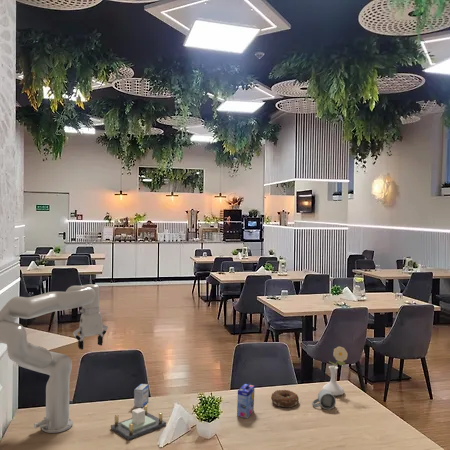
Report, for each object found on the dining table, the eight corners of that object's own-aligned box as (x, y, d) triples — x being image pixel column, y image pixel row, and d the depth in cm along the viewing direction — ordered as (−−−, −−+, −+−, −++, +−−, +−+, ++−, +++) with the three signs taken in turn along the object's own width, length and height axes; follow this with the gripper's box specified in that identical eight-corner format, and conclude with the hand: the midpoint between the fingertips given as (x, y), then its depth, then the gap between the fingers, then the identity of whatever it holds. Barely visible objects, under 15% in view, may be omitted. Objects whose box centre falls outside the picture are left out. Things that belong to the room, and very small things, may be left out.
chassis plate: (128, 440, 179) (128, 426, 179) (110, 428, 189) (110, 416, 189) (166, 425, 192) (166, 413, 192) (147, 415, 202) (147, 403, 202)
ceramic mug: (331, 402, 218) (331, 387, 218) (336, 409, 210) (335, 393, 210) (310, 403, 218) (310, 387, 218) (314, 410, 210) (313, 394, 210)
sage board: (132, 431, 183) (132, 417, 183) (120, 424, 189) (120, 411, 189) (155, 422, 192) (155, 409, 192) (144, 416, 198) (144, 403, 198)
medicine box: (142, 407, 211) (142, 389, 211) (133, 407, 212) (134, 389, 212) (148, 401, 219) (148, 384, 219) (140, 400, 220) (140, 383, 220)
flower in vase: (322, 396, 226) (322, 348, 226) (321, 388, 237) (321, 342, 238) (348, 398, 224) (348, 349, 224) (346, 390, 235) (346, 343, 235)
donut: (271, 397, 226) (271, 387, 226) (298, 398, 224) (298, 389, 224) (270, 408, 212) (270, 398, 212) (299, 410, 210) (299, 400, 210)
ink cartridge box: (247, 418, 200) (248, 387, 200) (236, 416, 202) (236, 385, 202) (254, 410, 209) (254, 380, 209) (243, 408, 211) (244, 378, 211)
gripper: (77, 314, 198) (77, 352, 198) (111, 309, 210) (111, 345, 210) (69, 312, 203) (69, 348, 203) (103, 307, 216) (103, 342, 216)
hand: (90, 346), depth 207 cm, fingers open, 9 cm apart
